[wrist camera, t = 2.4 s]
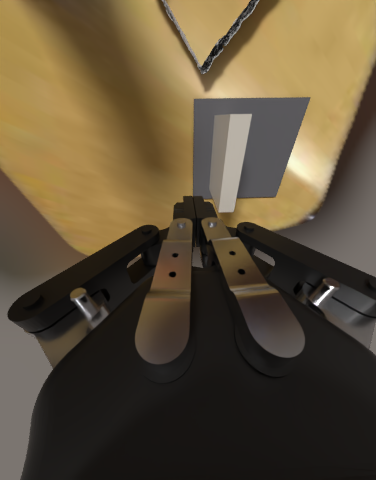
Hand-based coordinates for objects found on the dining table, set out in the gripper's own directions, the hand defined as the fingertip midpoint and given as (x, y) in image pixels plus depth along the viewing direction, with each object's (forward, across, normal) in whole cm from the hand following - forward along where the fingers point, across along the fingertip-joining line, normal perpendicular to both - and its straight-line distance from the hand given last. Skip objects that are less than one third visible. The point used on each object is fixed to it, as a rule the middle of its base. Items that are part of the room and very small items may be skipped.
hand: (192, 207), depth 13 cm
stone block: (+20, -6, 0) cm, 21 cm away
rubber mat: (+20, -10, 0) cm, 23 cm away
